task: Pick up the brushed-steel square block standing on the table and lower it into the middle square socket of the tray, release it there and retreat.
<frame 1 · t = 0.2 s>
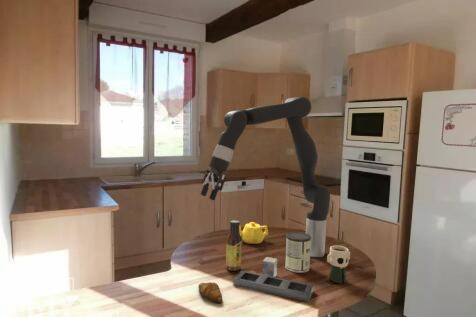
hand: (207, 197, 130), 31 cm above the table, tool tilted 20°, fingers open, 8 cm apart
croissant: (210, 296, 115), on the table
tray: (272, 288, 122), on the table
sauce bottle: (233, 268, 139), on the table
coffee can: (297, 268, 142), on the table
teapot: (251, 241, 174), on the table
character mug: (337, 281, 131), on the table
steel block: (269, 276, 132), on the table
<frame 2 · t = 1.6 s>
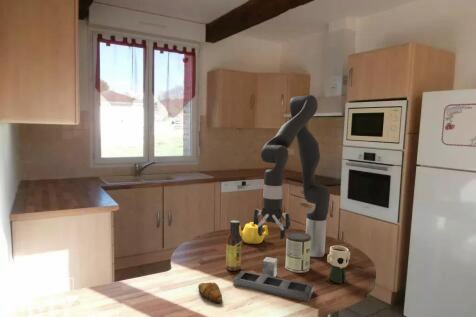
hand: (271, 237, 131), 16 cm above the table, tool pointing down, fingers open, 8 cm apart
nothing on the table moved.
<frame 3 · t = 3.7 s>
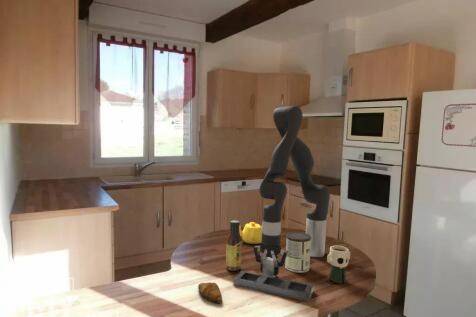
hand: (269, 273, 132), 1 cm above the table, tool pointing down, fingers closed on steel block, 4 cm apart
steel block: (269, 276, 132), on the table, touching gripper
everything else where it was.
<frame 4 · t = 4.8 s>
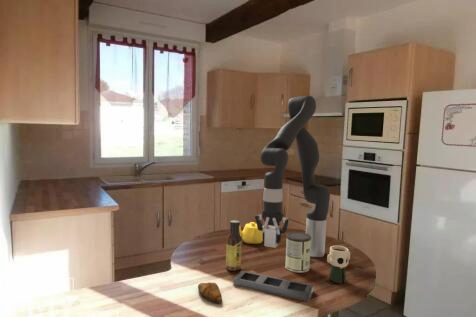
hand: (271, 242, 131), 14 cm above the table, tool pointing down, fingers closed on steel block, 4 cm apart
steel block: (271, 245, 131), point 13 cm above the table, touching gripper
everything else where it was.
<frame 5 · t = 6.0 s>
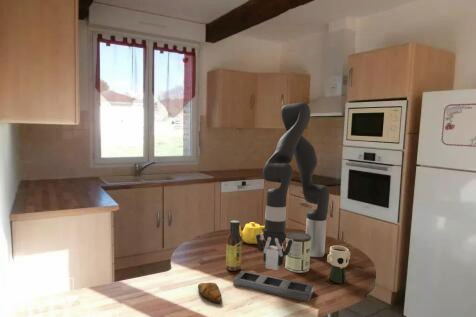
hand: (273, 263, 122), 9 cm above the table, tool pointing down, fingers closed on steel block, 4 cm apart
steel block: (273, 266, 122), point 8 cm above the table, touching gripper
everything else where it was.
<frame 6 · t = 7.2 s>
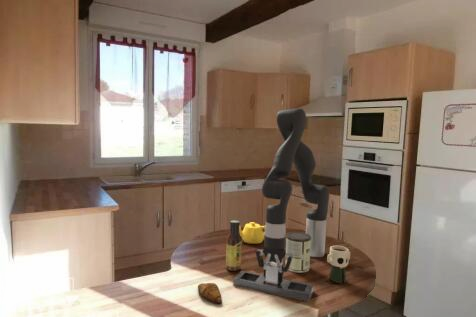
hand: (273, 279, 122), 3 cm above the table, tool pointing down, fingers closed on steel block, 4 cm apart
steel block: (273, 282, 122), point 2 cm above the table, touching gripper
everything else where it was.
when the fingers open (3 cm above the table, at t = 7.4 s): steel block drops 2 cm, resting on tray.
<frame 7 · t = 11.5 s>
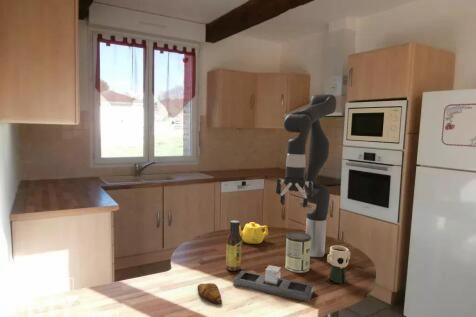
hand: (293, 206, 133), 28 cm above the table, tool pointing down, fingers open, 8 cm apart
steel block: (272, 286, 122), resting on tray
everything else where it was.
at the end: steel block 0.2 cm off-centre on the tray, point 0.5 cm above the tray's base; steel block tilted 0°; the gripper is holding nothing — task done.
